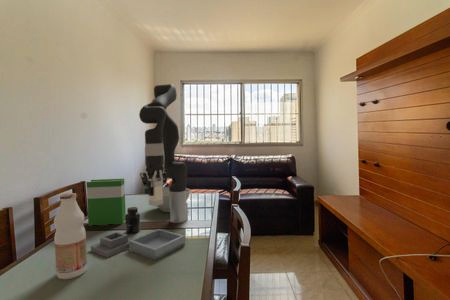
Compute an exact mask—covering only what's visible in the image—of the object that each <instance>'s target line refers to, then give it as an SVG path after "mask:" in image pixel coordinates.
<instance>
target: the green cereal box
mask: <svg viewBox="0 0 450 300" xmlns="http://www.w3.org/2000/svg"><path fill="white" fill-rule="evenodd" d="M85 183H86V199H87V200H86V203H87V220H88V223H87V224H88V227H93V226H92V225H99V226H109V225H108V224H114V225H123V224H124V223H125V222H126V220H125V216H126V214H127V211H126V190H125V189H126V188H125V186H126V185H125V184H126V183H125V178H106V179H105V178H102V179H91V180H90V181H86V182H85ZM124 221H125V222H124Z"/></svg>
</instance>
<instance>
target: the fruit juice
mask: <svg viewBox="0 0 450 300" xmlns="http://www.w3.org/2000/svg"><path fill="white" fill-rule="evenodd" d="M76 199H77V193H76V192H75V193H73V192H69V193H68V192H67V193H62V194H60V195H59V200H60V205H59V208H58V211H57V213H56V215H55V217H54V219H53V225H54V228H55V232H54V240H53V241H54V253H55V254H54V255H55V256H54V257H55V271H56V272H55V273H56V277H57V278H58V279H59V280H70V279H75V278H77V277H79V276H82V275H83V274H84V273H85V272H87V270H88V253H87V235H86V233H87V232H86V228H85V226H84V224H85V223H84V222H85V220H86V219H85V214H84V213H83V211H82V209H81V208H80V206H79V204H78V202H77V200H76Z"/></svg>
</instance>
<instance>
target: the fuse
mask: <svg viewBox="0 0 450 300" xmlns="http://www.w3.org/2000/svg"><path fill="white" fill-rule="evenodd" d="M150 184H151V182H150ZM162 185H163V186H164V184H163V181H160V180H156V179H155V181H154V182H153V187H154V196H149V195H148V205H149V206H154V207H157V206H158V205H161V204H163V188H164V187H163V188H162Z"/></svg>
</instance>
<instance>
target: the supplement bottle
mask: <svg viewBox="0 0 450 300" xmlns="http://www.w3.org/2000/svg"><path fill="white" fill-rule="evenodd" d="M138 211H139V209H138V207H137V206H130V207H128V208H127V211H126V216H125V234H127V235H129V234H130V235H132V234H137V233H140V231H141V215H140V213H139V212H138Z"/></svg>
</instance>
